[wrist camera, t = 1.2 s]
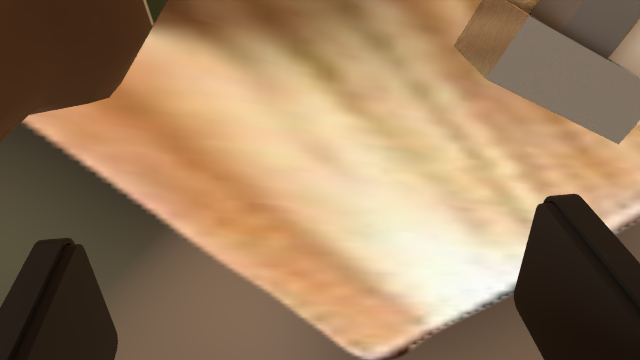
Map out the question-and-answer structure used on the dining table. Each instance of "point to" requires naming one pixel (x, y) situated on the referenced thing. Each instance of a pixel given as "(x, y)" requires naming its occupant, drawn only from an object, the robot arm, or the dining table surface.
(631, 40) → the mat
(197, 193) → the dining table surface
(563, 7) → the cream rectangular bar
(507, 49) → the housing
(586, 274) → the robot arm
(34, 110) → the beer bottle
